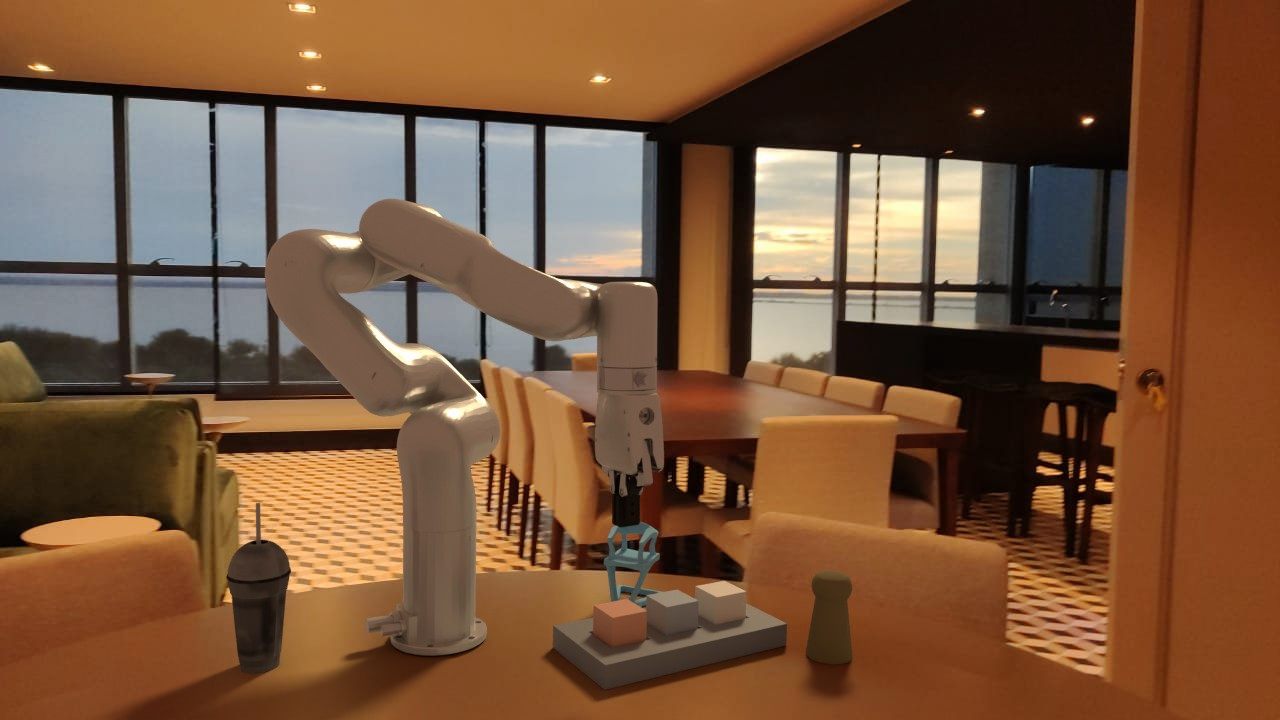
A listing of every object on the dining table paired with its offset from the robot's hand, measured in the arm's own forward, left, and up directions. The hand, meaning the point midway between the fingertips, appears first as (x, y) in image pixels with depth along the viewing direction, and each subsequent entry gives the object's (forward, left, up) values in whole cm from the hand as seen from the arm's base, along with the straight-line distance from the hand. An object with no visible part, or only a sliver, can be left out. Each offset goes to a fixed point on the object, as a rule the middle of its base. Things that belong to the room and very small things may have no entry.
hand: (626, 524), depth 111 cm
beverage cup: (-40, +19, -18) cm, 48 cm away
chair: (+12, +17, -18) cm, 27 cm away
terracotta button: (0, 0, -15) cm, 15 cm away
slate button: (+8, 0, -15) cm, 17 cm away
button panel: (+8, 0, -18) cm, 19 cm away
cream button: (+16, 0, -15) cm, 22 cm away
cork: (+25, -12, -18) cm, 33 cm away
